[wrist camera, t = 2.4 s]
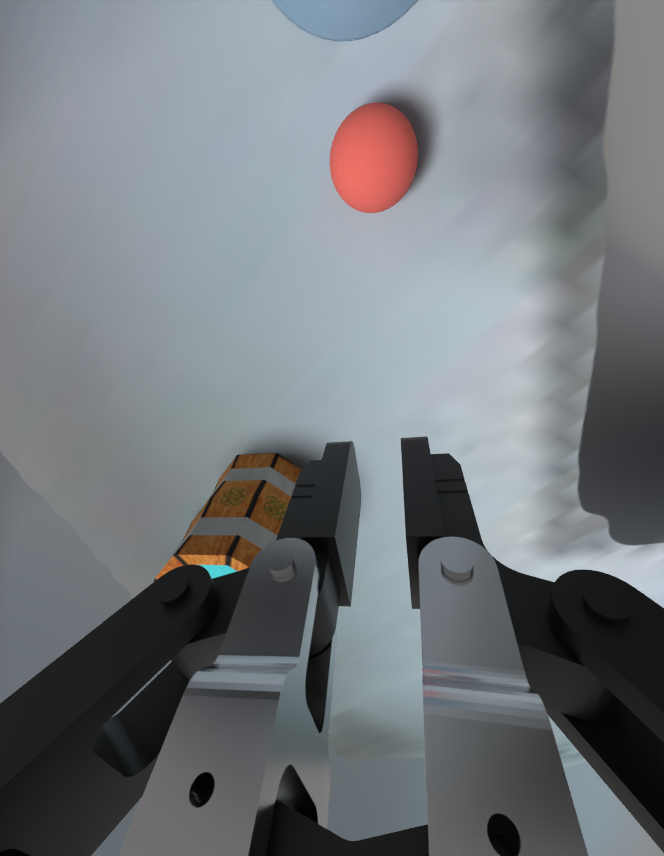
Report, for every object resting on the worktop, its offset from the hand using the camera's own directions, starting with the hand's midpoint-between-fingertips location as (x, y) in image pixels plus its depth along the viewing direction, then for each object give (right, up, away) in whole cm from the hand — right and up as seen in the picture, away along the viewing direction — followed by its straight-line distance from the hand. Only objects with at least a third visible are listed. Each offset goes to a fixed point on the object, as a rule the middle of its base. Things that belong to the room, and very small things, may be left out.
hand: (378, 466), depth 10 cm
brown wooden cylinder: (-12, -8, +37) cm, 40 cm away
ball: (+1, +19, +14) cm, 24 cm away
